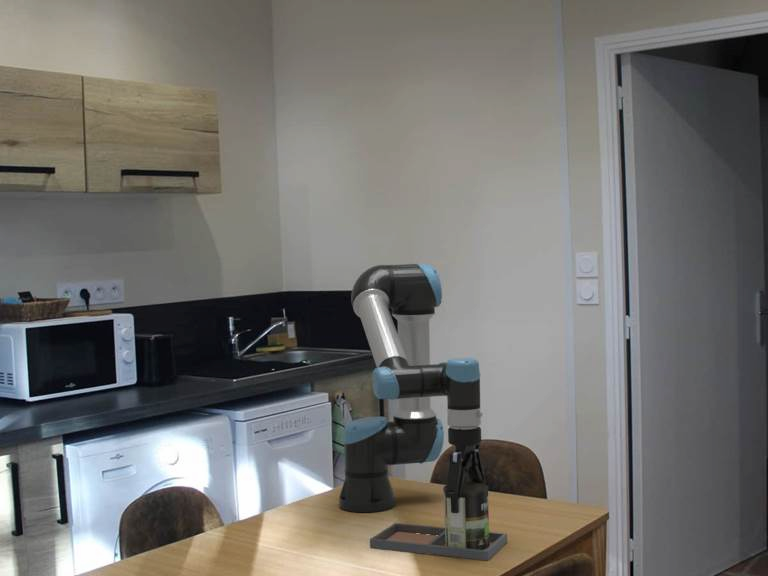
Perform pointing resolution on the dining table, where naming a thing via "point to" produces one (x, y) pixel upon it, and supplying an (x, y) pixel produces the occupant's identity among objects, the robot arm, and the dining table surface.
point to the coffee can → (469, 518)
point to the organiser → (431, 542)
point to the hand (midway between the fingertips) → (467, 519)
